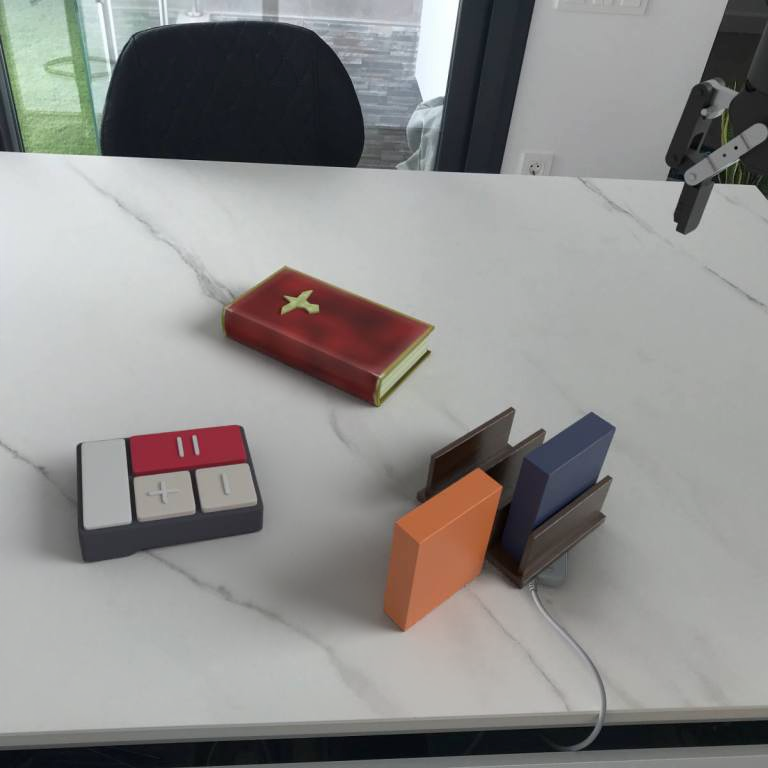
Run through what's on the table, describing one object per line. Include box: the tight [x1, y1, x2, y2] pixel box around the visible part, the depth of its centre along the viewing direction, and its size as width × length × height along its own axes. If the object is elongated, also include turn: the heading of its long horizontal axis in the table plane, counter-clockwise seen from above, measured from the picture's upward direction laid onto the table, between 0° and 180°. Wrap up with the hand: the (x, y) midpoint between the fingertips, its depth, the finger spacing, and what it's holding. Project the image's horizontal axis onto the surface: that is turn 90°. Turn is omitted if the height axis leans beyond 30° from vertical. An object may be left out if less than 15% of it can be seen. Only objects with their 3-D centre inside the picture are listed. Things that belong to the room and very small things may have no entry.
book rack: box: [416, 406, 614, 590], centre depth 71 cm, size 13×12×6 cm
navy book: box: [500, 411, 617, 562], centre depth 66 cm, size 3×9×11 cm, turn 132°
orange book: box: [382, 468, 502, 633], centre depth 61 cm, size 3×9×11 cm, turn 132°
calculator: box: [75, 424, 264, 563], centre depth 69 cm, size 11×4×15 cm
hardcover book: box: [221, 265, 436, 408], centre depth 89 cm, size 12×21×4 cm, turn 59°
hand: (738, 255), depth 55 cm, fingers open, 8 cm apart
